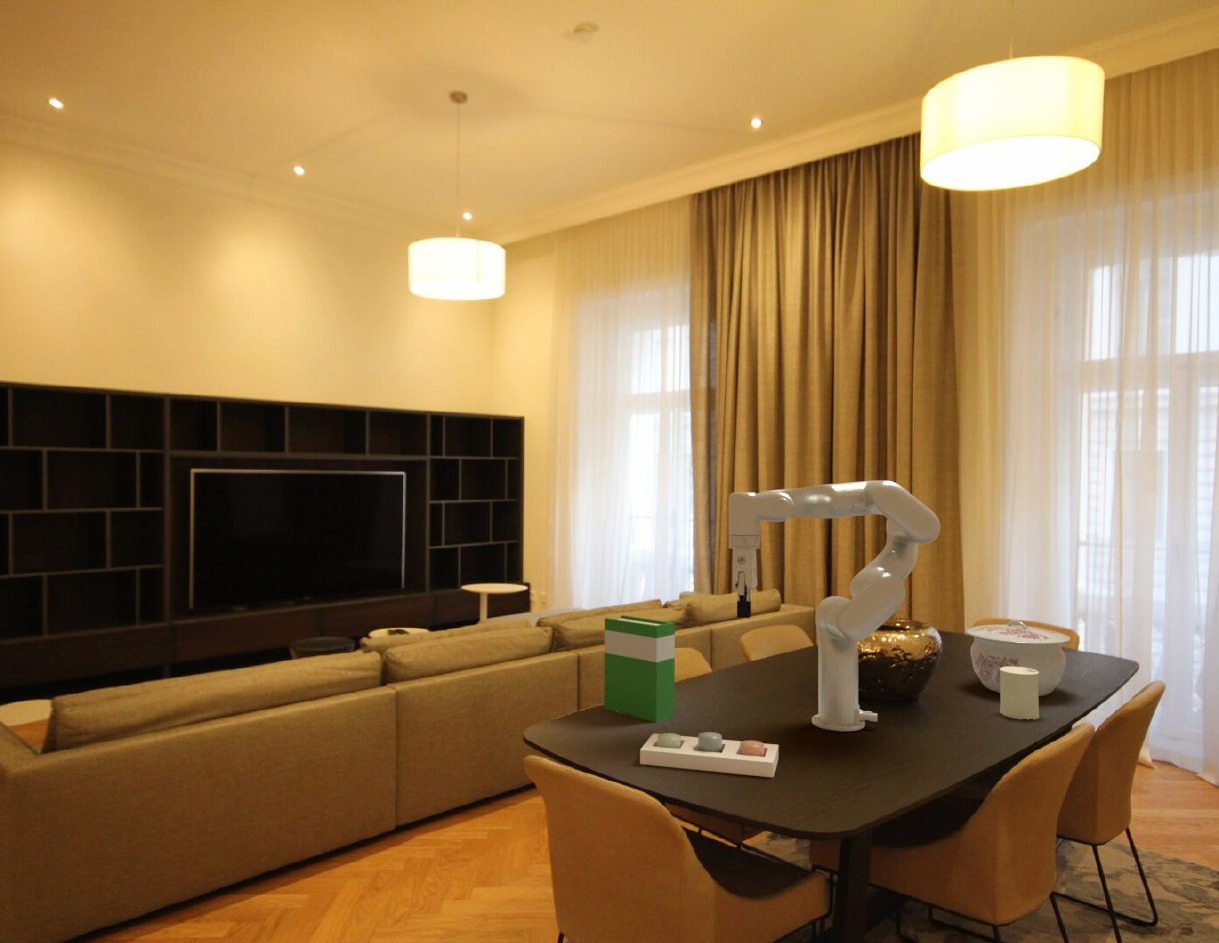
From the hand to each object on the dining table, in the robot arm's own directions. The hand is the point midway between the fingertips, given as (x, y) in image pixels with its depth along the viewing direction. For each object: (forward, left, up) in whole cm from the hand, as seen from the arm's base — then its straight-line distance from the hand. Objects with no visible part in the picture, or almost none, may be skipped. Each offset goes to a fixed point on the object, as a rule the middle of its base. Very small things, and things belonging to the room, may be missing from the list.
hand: (744, 617), depth 202 cm
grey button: (+4, +26, -26) cm, 37 cm away
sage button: (+13, +26, -27) cm, 39 cm away
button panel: (+4, +26, -27) cm, 38 cm away
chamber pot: (-71, -59, -27) cm, 96 cm away
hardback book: (+28, -6, -27) cm, 40 cm away
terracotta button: (-5, +26, -27) cm, 38 cm away
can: (-67, -33, -27) cm, 80 cm away
